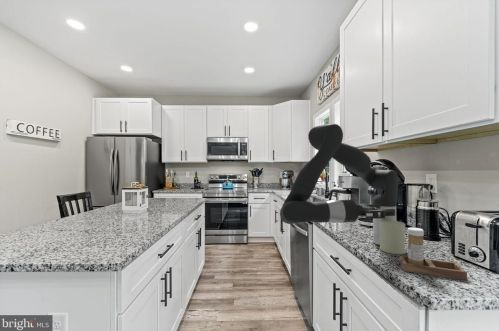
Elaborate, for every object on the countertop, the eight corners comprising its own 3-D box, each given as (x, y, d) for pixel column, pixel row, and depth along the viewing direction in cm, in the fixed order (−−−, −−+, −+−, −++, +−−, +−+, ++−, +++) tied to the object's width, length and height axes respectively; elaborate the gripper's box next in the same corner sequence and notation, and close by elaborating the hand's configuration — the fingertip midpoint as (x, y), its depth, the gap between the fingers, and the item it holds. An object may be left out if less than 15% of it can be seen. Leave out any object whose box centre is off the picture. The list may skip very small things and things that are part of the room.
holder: (399, 262, 89) (399, 255, 89) (456, 269, 82) (456, 262, 82) (403, 270, 81) (403, 263, 81) (467, 280, 74) (466, 272, 74)
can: (393, 246, 107) (392, 218, 107) (411, 253, 98) (410, 223, 98) (374, 247, 105) (374, 219, 105) (391, 255, 96) (391, 224, 96)
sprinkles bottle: (409, 264, 86) (409, 226, 87) (424, 268, 83) (424, 228, 83) (406, 268, 83) (406, 228, 83) (422, 272, 80) (422, 231, 80)
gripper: (348, 203, 76) (400, 201, 76) (331, 197, 90) (375, 196, 90) (349, 227, 76) (400, 226, 76) (332, 217, 90) (375, 216, 90)
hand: (386, 209), depth 83 cm, fingers open, 8 cm apart
